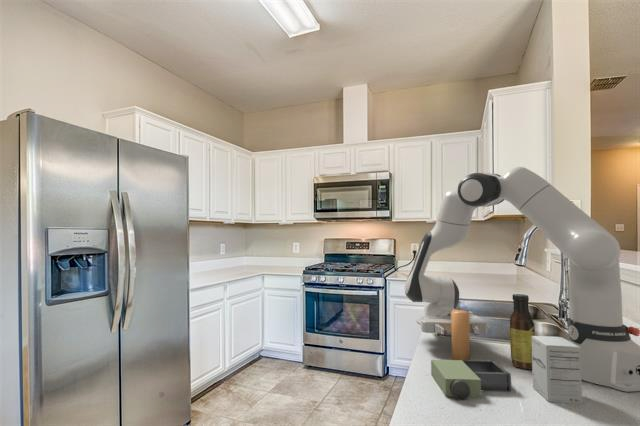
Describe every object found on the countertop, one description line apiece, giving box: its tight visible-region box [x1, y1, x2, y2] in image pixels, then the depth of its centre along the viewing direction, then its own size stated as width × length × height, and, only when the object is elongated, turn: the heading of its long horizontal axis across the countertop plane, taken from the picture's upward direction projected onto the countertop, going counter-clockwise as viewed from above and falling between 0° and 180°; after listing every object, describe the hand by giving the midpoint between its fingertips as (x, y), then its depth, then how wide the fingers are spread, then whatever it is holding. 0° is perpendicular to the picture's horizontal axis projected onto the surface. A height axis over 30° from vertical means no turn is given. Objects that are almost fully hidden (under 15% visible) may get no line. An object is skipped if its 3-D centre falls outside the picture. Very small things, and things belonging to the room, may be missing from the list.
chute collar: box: [462, 359, 512, 392], centre depth 87 cm, size 8×9×4 cm
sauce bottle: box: [509, 293, 536, 370], centre depth 98 cm, size 6×6×20 cm
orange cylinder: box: [451, 309, 471, 360], centre depth 103 cm, size 5×5×14 cm
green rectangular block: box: [430, 359, 482, 401], centre depth 84 cm, size 8×14×4 cm, turn 177°
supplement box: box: [531, 335, 583, 405], centre depth 80 cm, size 7×7×13 cm
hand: (460, 332), depth 103 cm, fingers open, 8 cm apart
